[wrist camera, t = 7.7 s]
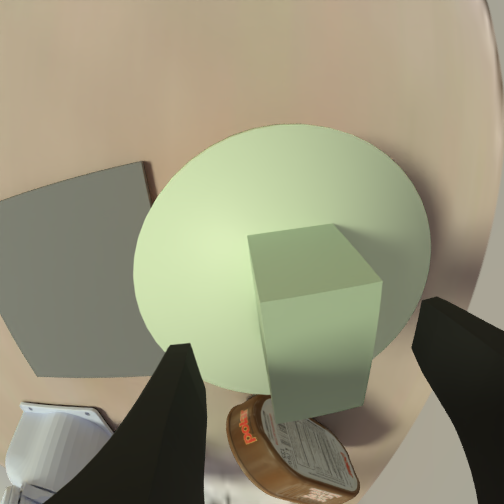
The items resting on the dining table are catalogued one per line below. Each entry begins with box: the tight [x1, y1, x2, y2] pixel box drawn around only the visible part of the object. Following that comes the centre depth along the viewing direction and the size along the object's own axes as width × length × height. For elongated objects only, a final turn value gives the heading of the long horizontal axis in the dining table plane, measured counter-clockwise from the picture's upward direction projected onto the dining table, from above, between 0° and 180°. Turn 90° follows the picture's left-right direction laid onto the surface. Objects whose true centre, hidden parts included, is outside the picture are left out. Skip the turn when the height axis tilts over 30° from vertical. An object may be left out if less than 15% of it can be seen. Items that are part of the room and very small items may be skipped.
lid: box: [133, 124, 431, 424], centre depth 10 cm, size 12×12×5 cm
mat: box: [0, 161, 165, 378], centre depth 17 cm, size 14×14×1 cm
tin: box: [226, 394, 360, 504], centre depth 21 cm, size 15×3×8 cm, turn 40°
